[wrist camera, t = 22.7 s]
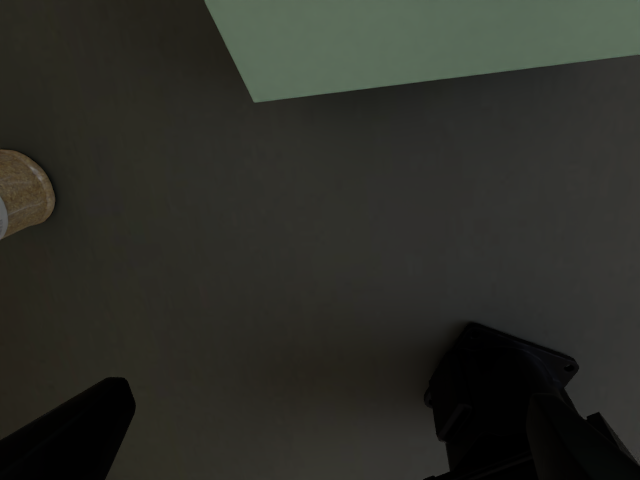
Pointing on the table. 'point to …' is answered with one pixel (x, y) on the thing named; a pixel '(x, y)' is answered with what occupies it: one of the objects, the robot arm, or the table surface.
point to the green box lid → (412, 40)
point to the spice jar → (22, 193)
